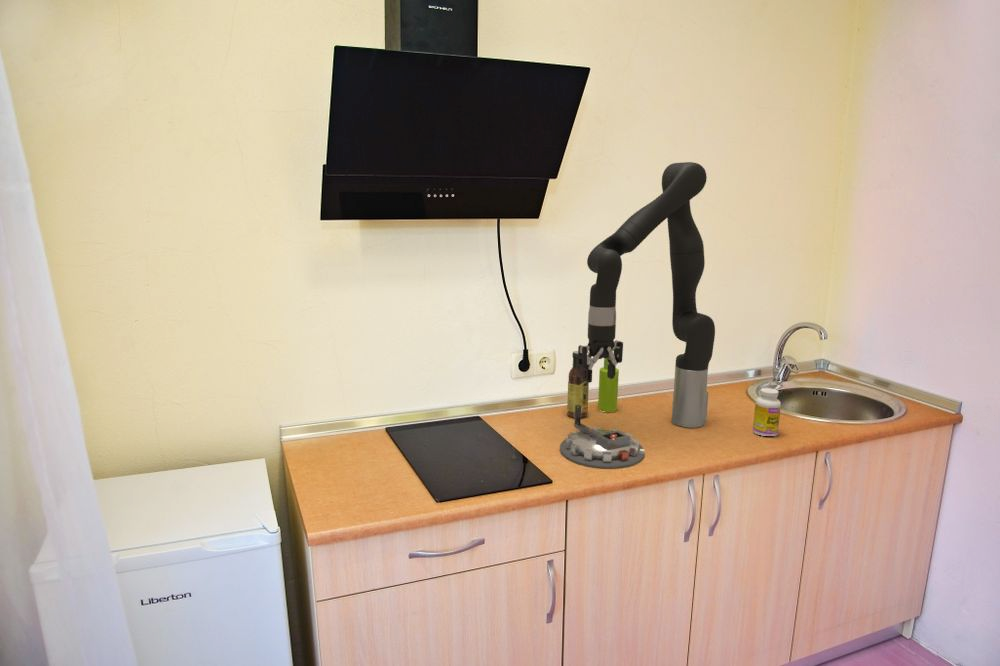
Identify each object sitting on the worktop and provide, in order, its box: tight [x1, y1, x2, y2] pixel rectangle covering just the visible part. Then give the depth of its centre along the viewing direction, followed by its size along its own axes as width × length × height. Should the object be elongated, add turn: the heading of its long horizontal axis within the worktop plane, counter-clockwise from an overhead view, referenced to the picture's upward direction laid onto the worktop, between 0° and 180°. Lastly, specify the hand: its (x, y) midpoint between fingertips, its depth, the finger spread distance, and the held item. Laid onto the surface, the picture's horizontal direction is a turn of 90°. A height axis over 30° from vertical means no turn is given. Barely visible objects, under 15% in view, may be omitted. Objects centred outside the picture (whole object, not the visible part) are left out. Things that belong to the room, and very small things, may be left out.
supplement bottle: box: [752, 387, 782, 437], centre depth 183 cm, size 7×7×13 cm
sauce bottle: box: [566, 350, 590, 419], centre depth 196 cm, size 6×6×20 cm
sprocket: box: [565, 405, 640, 462], centre depth 171 cm, size 19×21×8 cm
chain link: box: [596, 429, 630, 450], centre depth 167 cm, size 7×5×2 cm
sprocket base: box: [559, 438, 646, 470], centre depth 171 cm, size 22×22×2 cm
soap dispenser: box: [597, 348, 620, 413], centre depth 201 cm, size 6×7×20 cm
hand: (599, 379), depth 180 cm, fingers open, 7 cm apart
